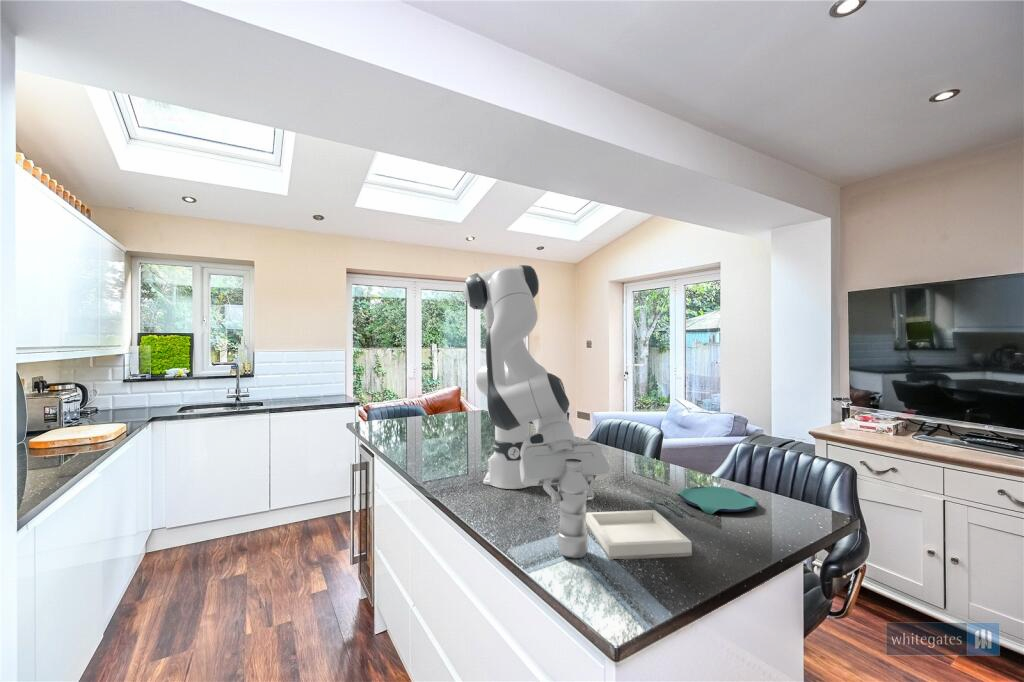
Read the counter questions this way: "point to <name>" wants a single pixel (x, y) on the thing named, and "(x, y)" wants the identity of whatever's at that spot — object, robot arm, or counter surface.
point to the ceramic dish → (637, 535)
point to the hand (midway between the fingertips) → (573, 500)
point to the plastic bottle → (573, 511)
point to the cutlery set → (711, 500)
